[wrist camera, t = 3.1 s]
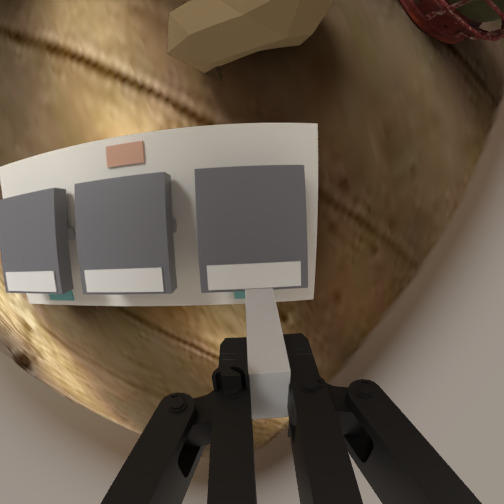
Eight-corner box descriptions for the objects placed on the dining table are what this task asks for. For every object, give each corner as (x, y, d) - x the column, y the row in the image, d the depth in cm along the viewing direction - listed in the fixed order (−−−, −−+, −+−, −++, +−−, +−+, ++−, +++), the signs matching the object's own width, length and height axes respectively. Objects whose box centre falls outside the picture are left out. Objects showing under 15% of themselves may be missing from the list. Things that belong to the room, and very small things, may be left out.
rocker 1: (10, 200, 19) (-3, 199, 18) (66, 189, 20) (52, 187, 18) (18, 288, 20) (5, 292, 18) (73, 288, 21) (61, 294, 19)
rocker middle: (86, 185, 20) (73, 183, 18) (170, 175, 20) (163, 171, 18) (93, 288, 21) (82, 295, 19) (177, 287, 21) (171, 294, 19)
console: (28, 161, 23) (-8, 168, 18) (303, 126, 24) (321, 122, 18) (52, 284, 28) (25, 310, 23) (302, 276, 29) (315, 308, 23)
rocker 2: (198, 173, 20) (194, 168, 18) (298, 169, 20) (304, 164, 18) (204, 286, 21) (200, 293, 19) (302, 281, 21) (308, 288, 19)
